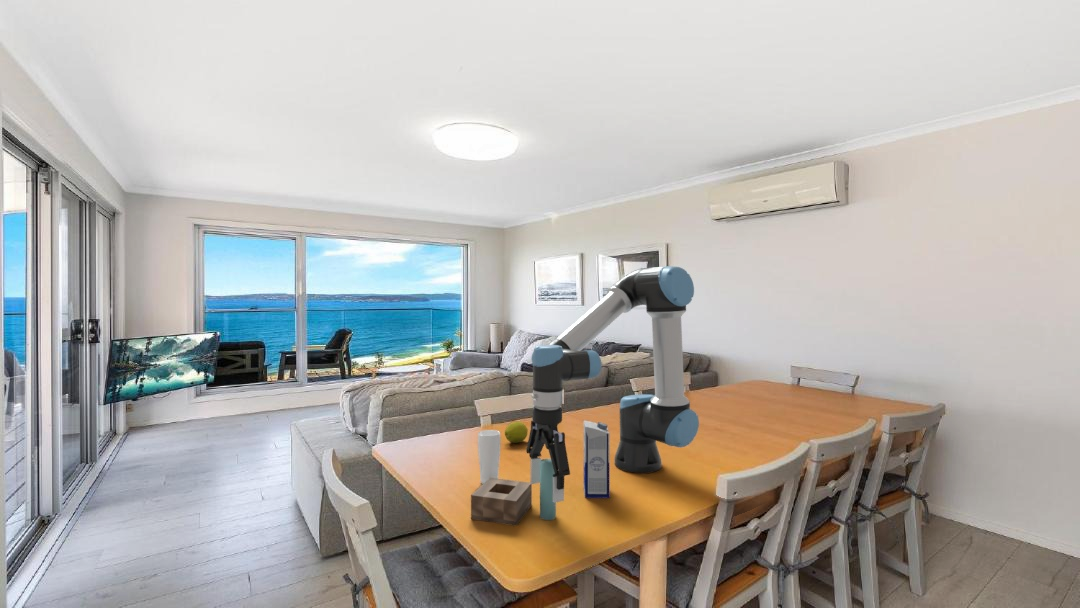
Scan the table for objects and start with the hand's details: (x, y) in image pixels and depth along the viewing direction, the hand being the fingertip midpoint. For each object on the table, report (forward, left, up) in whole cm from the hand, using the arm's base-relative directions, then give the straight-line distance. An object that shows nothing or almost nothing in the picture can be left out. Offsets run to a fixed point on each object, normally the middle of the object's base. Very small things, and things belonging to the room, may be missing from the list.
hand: (546, 491), depth 121 cm
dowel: (-1, 0, -6) cm, 6 cm away
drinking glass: (+23, -16, -6) cm, 28 cm away
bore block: (+11, +1, -6) cm, 13 cm away
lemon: (+29, -55, -6) cm, 62 cm away
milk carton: (-10, -18, -6) cm, 21 cm away
